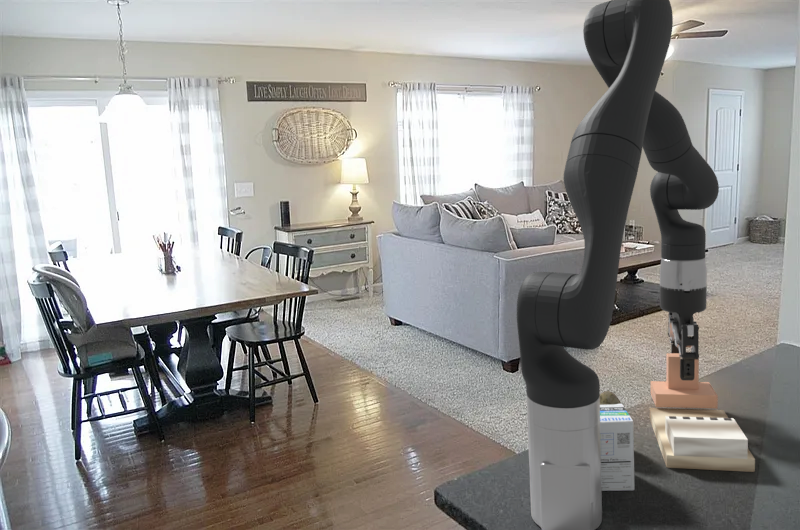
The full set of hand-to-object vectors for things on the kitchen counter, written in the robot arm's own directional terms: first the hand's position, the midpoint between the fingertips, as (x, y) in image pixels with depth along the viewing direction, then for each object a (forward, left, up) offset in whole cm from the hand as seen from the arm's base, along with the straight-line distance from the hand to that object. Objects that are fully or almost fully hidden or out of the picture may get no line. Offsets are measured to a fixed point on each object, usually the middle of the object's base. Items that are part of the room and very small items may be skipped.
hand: (682, 371), depth 111 cm
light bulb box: (-26, +17, -8) cm, 32 cm away
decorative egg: (-16, +14, -8) cm, 23 cm away
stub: (0, 0, -5) cm, 5 cm away
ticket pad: (-12, 0, -8) cm, 14 cm away
